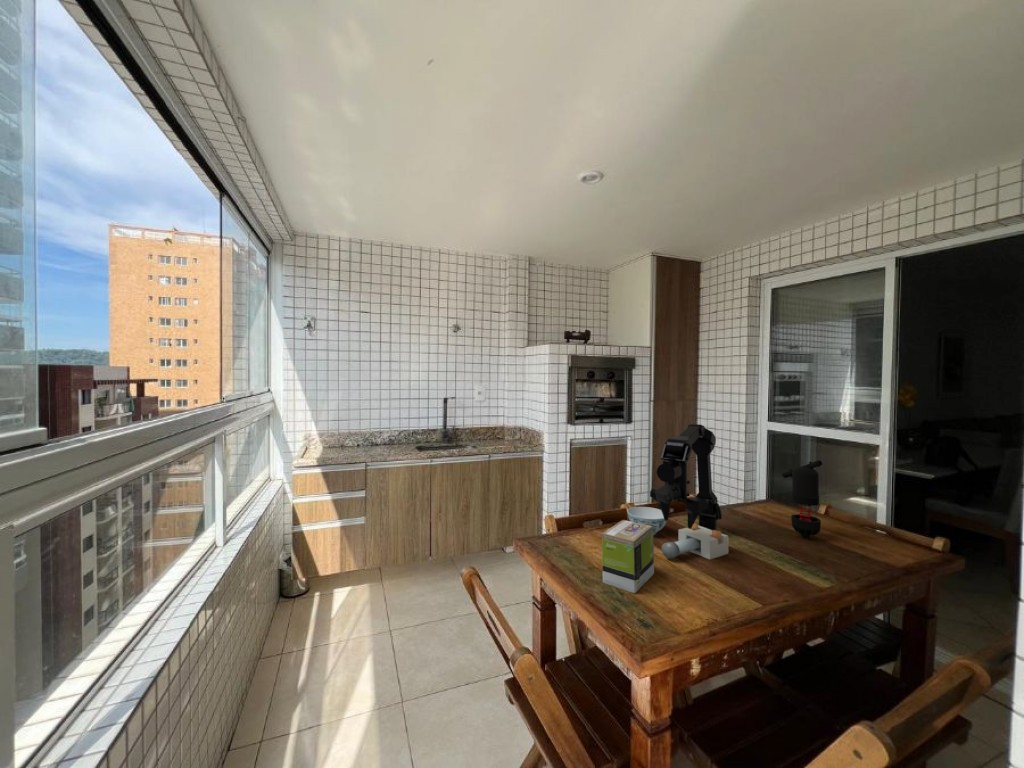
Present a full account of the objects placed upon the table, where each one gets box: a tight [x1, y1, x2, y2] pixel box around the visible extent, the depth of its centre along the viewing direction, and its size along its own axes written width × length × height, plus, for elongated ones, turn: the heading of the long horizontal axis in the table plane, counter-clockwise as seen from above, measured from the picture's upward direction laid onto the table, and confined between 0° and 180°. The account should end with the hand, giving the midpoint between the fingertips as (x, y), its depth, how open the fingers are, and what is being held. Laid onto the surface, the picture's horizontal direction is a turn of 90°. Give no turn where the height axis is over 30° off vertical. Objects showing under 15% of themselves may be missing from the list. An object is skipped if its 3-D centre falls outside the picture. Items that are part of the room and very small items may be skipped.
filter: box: [781, 459, 823, 540], centre depth 150 cm, size 14×9×30 cm
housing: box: [678, 525, 729, 561], centre depth 137 cm, size 10×12×6 cm
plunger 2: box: [712, 530, 722, 541], centre depth 134 cm, size 3×3×2 cm
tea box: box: [601, 519, 655, 594], centre depth 116 cm, size 15×10×15 cm, turn 141°
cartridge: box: [661, 537, 701, 559], centre depth 132 cm, size 16×5×5 cm, turn 119°
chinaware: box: [627, 506, 668, 536], centre depth 154 cm, size 15×15×8 cm
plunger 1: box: [691, 522, 699, 530], centre depth 142 cm, size 3×3×2 cm
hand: (677, 524), depth 131 cm, fingers open, 9 cm apart
